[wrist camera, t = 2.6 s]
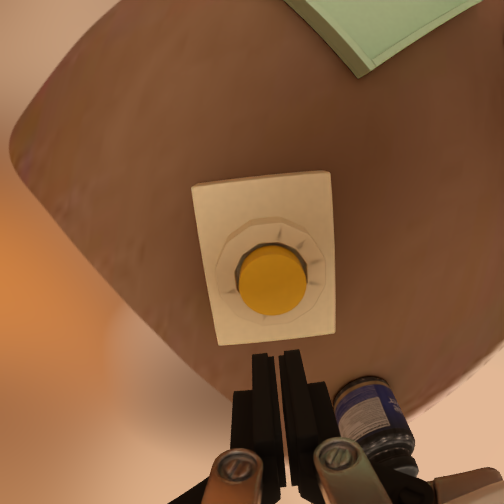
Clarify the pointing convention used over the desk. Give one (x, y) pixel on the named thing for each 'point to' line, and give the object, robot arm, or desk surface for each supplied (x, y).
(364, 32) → the tray
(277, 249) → the button
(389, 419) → the pill bottle
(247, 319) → the box
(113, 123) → the desk surface
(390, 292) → the desk surface
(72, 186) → the desk surface
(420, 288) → the desk surface
